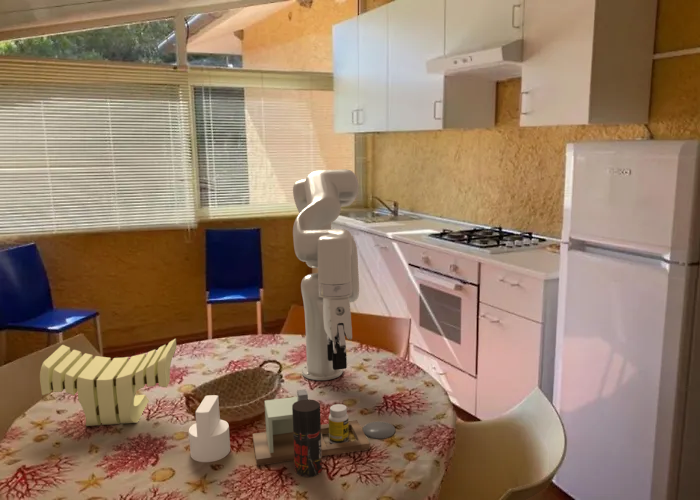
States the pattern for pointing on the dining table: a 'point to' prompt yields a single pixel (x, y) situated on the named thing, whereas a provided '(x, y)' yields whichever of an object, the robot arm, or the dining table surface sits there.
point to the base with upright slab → (209, 432)
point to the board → (285, 445)
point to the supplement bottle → (338, 424)
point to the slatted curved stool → (107, 381)
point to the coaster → (379, 430)
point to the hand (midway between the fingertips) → (337, 363)
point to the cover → (280, 416)
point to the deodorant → (307, 438)
